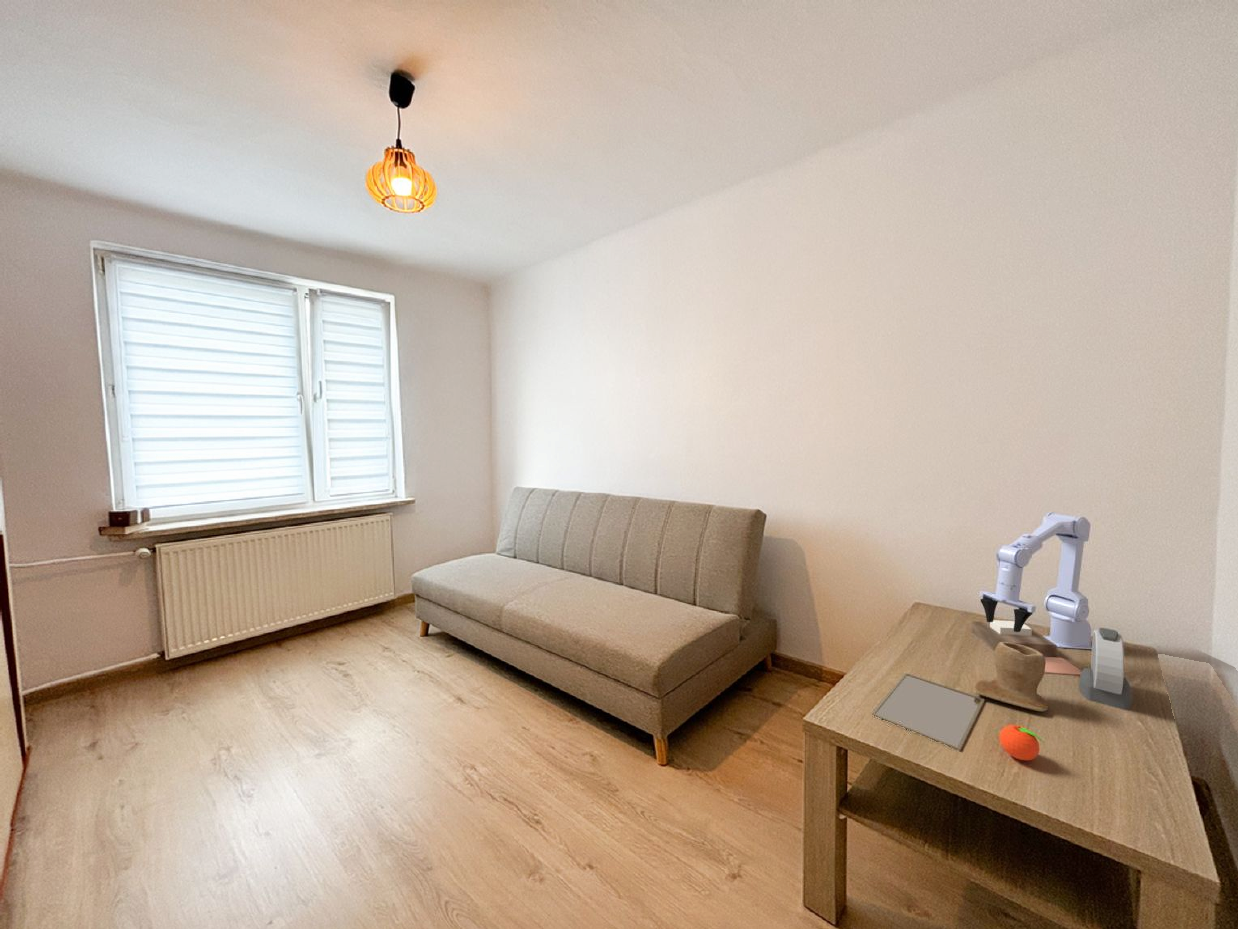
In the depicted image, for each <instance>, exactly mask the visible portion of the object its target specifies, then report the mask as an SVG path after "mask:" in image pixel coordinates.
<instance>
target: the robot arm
mask: <svg viewBox="0 0 1238 929" xmlns="http://www.w3.org/2000/svg"><path fill="white" fill-rule="evenodd" d="M1041 523H1042V524H1040V525H1039V527H1037V528H1036V529H1035V530H1034V531H1033V532H1032V533H1024V534H1022V535H1021V536H1020V537H1018V539H1015V540H1014V541H1012V543H1010V544H1009V545H1007V544H1006V545H1001V546H1000V547H999V548H998V549H997V551H996V553H995V558H996V562H997V564H996V565H997V568H998V574H997V581H996V588H995V592H990V591H987V590H979V597H980V603H981V604H982V608H983V609H984V613H985V618H986V622H993V620H995V612H996V609H997V608H996V607H997V605H998V603H1001V604H1004V605H1008V606H1011V607H1014V608H1013V614H1014V621H1015V622H1014V631H1015V632H1020V631H1021V628H1022V626H1023V624H1025V623H1026V621H1027V620H1028V619H1029V618H1030V617H1031V616H1032V615H1033V614H1034V613H1036V608H1037V605H1033V604H1030V603H1027V602H1026V601H1023V600H1020V595H1021V594H1020V593H1021V587H1022V579H1023V573H1024V568H1026V567H1027V566H1028V565H1029V562H1030V561H1031V559H1032V558H1033V555H1034V554H1036V553H1037V552H1038V551H1041V549H1043V543H1044V542H1045V541H1048V540H1049V539H1051V538H1052V537H1054V536H1056V537H1058V538H1059V540H1060V541H1061V542H1062V543H1061V550H1060V552H1061V553H1060V558H1059V560H1060V561H1059V567H1058V568H1059V569H1058V575H1057V584H1056V587H1054V588H1050V589H1049V590H1047V593H1046V597H1045V598H1044V601H1043V605H1044V606H1043V607H1044V609H1045V611H1047V612H1048V615H1049V616H1050V625H1049V626H1050V627H1049V628H1050V629H1049V630H1050V631H1049V635H1042V636H1043V637H1045V638H1046V639H1048V640H1049V641H1051V642H1052V643H1054V644H1056V645H1057V647H1058V648H1060V649H1061V648H1063V649H1079V650H1080V649H1083V650H1092V642H1091V641H1092V627H1091V624H1090V623H1089V621H1088V620H1087V618H1088V617H1089V614H1090V607H1089V599H1088V598H1087V597H1086V596H1085V595H1084V594H1083V593H1082V592H1080V590H1079V585H1080V579H1081V570H1082V560H1083V555H1084V554H1083V553H1084V544H1085V542H1088V541H1089V539H1090V532H1091V523H1090V521H1089V520H1088V519H1087V518H1086V517H1085V516H1075V515H1070V514H1063V513H1055V512H1048V513H1046V515H1044V516H1043V517H1042V522H1041ZM1057 647H1056V648H1057Z"/></svg>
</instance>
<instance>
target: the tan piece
mask: <svg viewBox="0 0 1238 929" xmlns="http://www.w3.org/2000/svg"><path fill="white" fill-rule="evenodd" d="M993 654H994V655H993V656H994V663H995V669H996V677H995V678H994V679H993V680H992V679H987V678H986V679H984V678H983V679H979V680H977V681H976V683H975V685H974V688H973V690H974V691H973V692H974V694H977V695H979V696H983V697H986V698H990V699H992V700H996V701H999V702H1002V703H1006V704H1010V705H1013V706H1017V707H1021V708H1025V709H1027V710H1031V711H1032V710H1033V711H1035V712H1036V711H1037V712H1046V711H1047V710H1048V708H1049V704H1048V702H1047V700H1046V699H1045V698H1044V697H1043V696H1041V695H1039V694H1038V691H1037V690H1038V686H1039V684H1040V683H1041V681H1042V680H1043V677H1044V675H1045V674H1046V673H1045V665H1046V661H1045V657H1044V656H1043V655H1042V654H1041V653H1040V652H1038V651H1037V650H1034V649H1032V648H1029V647H1026V646H1023V645H1019V644H1015V643H1009V642H1000V643H998V645H997V647H996V649H995V651H994V653H993Z"/></svg>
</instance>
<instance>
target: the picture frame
mask: <svg viewBox="0 0 1238 929" xmlns="http://www.w3.org/2000/svg"><path fill="white" fill-rule="evenodd" d="M985 702H986V699H985V698H984V697H983V698H982V697H981V696H977V695H974V694H972V693H967V692H964V691H962V690H958V689H955V688H953V687H949V686H946V685H943V684H940V683H937V682H934V681H931V680H930V679H929V680H928V679H926V678H922V677H920V676H916V675H913V674H910V673H906V672H905V673H903V675H902V676H901V677H900V679H899V680H897V682H896V683H895V685H893V687H892V688H891V690H889V692H888V693H887V694H886V695H885V697H883V699H881V701H880V703H878V704H877V706H876V707H875V708H874V709H873V711H872V712H871V713H870V715H871V714H872V715H874V716H876V717H879V718H881V719H883V720H885V721H888V722H891V723H893V724H895V725H899V726H901V727H904V728H905V729H908V730H911V731H914V732H916V733H917V734H921V735H922V736H925V737H927V738H930V739H932V740H934V741H933V742H935V741H936V742H935V743H937V742H941V743H942V744H945V745H947V746H949V747H948V748H950V747H952V748H954V749H953V750H955V749H956V750H955V751H957V750H959V751H958V752H961V751H960V750H962V749H963V746H964V744H965V742H966V740H967V738H968V736H969V734H970V732H971V730H972V727H973V725H975V721H976V720H977V718H978V716H979V713H980V712H981V709H982V708H983V706H984V703H985ZM910 713H912V714H910ZM901 714H902V715H901ZM883 720H882V721H883ZM885 721H884V722H885ZM896 721H899V722H896ZM910 721H911V722H910ZM888 722H887V723H888ZM893 724H892V725H893ZM895 725H894V726H895ZM908 725H912V726H908ZM905 729H904V730H905ZM908 730H907V731H908ZM919 730H921V731H919ZM917 734H916V735H917ZM922 736H921V737H922ZM925 737H924V738H925ZM927 738H926V739H927ZM940 738H942V739H940ZM930 739H929V740H930ZM932 740H931V741H932ZM949 742H950V743H949ZM942 744H941V745H942ZM945 745H944V746H945ZM947 746H946V747H947ZM952 748H951V749H952ZM961 748H962V749H961Z"/></svg>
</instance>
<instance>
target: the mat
mask: <svg viewBox="0 0 1238 929" xmlns="http://www.w3.org/2000/svg"><path fill="white" fill-rule="evenodd" d="M1045 661H1046V665H1045V673H1044V674H1050V675H1051V674H1053V675H1054V674H1055V675H1069V676H1081V673H1082V671H1083V670H1081V669H1079V668H1078V667H1076V666H1074V664H1072V663H1070V662H1069V661H1067V660H1066V659H1065V658H1063V657H1045Z"/></svg>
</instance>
